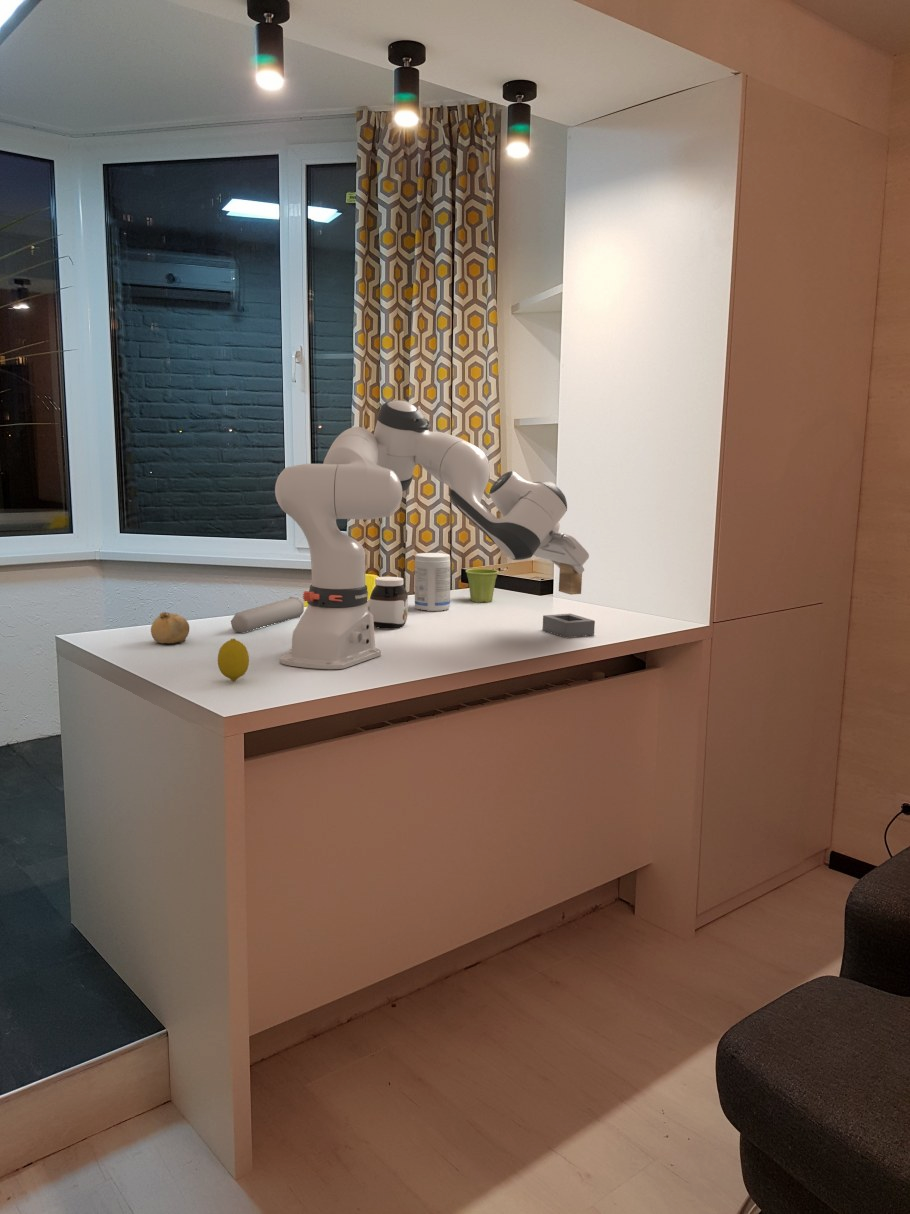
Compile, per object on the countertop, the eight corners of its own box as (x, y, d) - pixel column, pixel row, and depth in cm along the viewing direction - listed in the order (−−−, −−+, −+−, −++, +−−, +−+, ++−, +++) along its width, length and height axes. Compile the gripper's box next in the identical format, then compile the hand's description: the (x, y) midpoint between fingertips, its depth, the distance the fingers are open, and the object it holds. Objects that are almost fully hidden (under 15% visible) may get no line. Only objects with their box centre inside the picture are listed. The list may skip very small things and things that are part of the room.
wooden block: (570, 594, 215) (572, 554, 213) (558, 591, 219) (560, 551, 217) (581, 593, 216) (583, 553, 214) (569, 590, 220) (570, 551, 219)
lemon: (211, 683, 165) (211, 639, 164) (229, 676, 170) (229, 634, 169) (238, 686, 163) (237, 642, 162) (255, 679, 168) (254, 637, 167)
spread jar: (394, 631, 215) (394, 582, 213) (351, 626, 219) (351, 578, 217) (415, 622, 226) (415, 576, 224) (374, 618, 230) (374, 572, 228)
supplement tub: (448, 606, 251) (450, 552, 249) (450, 612, 242) (452, 557, 239) (413, 605, 251) (414, 552, 248) (414, 611, 241) (415, 556, 239)
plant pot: (487, 605, 254) (488, 574, 253) (458, 601, 259) (459, 571, 258) (503, 600, 262) (504, 570, 261) (474, 597, 267) (475, 567, 266)
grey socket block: (566, 637, 213) (566, 622, 212) (542, 629, 221) (543, 615, 221) (594, 635, 216) (594, 620, 216) (569, 627, 225) (570, 613, 224)
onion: (156, 639, 201) (155, 607, 200) (193, 639, 202) (192, 607, 200) (147, 647, 193) (146, 613, 192) (185, 647, 194) (185, 614, 193)
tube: (248, 618, 206) (306, 601, 229) (229, 609, 208) (289, 593, 231) (242, 640, 208) (301, 620, 231) (223, 630, 209) (283, 612, 232)
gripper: (574, 524, 202) (607, 566, 208) (525, 516, 220) (557, 555, 226) (556, 545, 201) (590, 586, 207) (508, 535, 219) (541, 573, 225)
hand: (572, 570), depth 217 cm, fingers closed on wooden block, 5 cm apart
